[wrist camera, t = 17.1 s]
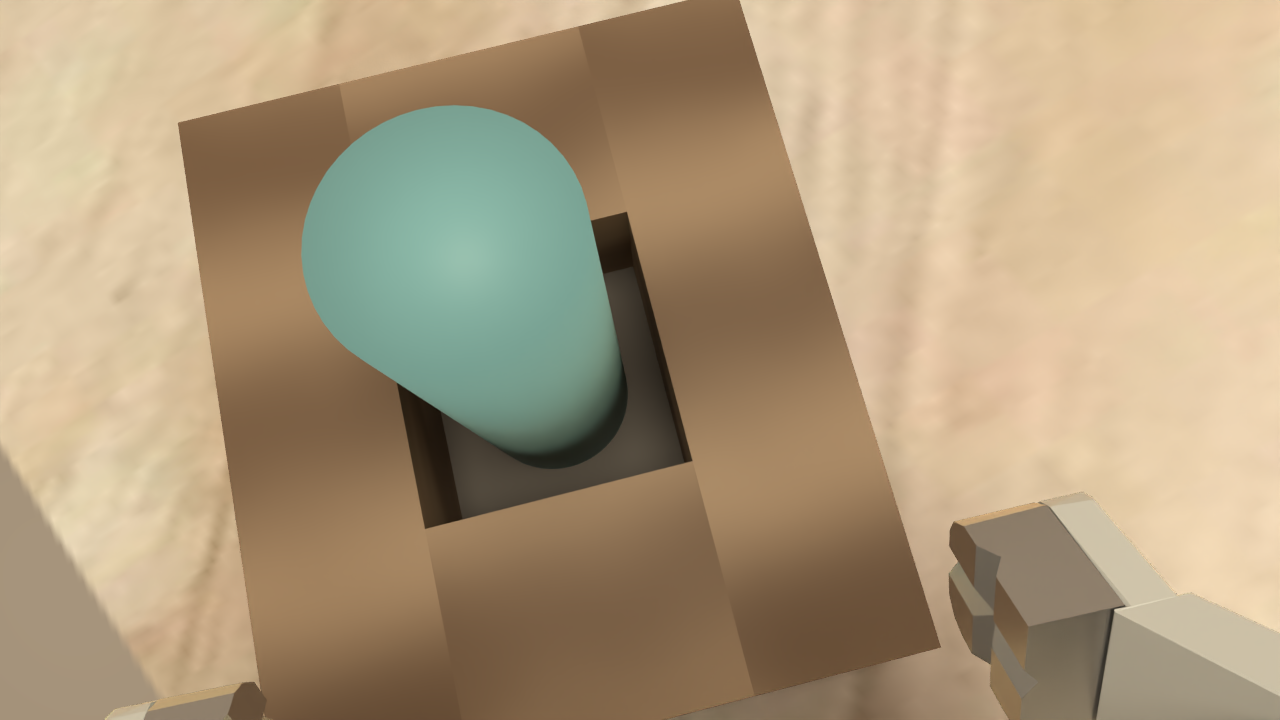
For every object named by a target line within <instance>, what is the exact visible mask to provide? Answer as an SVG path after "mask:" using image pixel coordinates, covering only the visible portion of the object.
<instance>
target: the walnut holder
mask: <svg viewBox="0 0 1280 720" xmlns="http://www.w3.org/2000/svg"><path fill="white" fill-rule="evenodd" d="M450 105H459V106H473V107H479V108H484V109H490V110H493V111H496V112H499V113H503V114H506V115H508V116H510V117H513V118H515V119H517V120H519V121H521V122H523V123H525V124H527V125H528V126H530V127H531V128H533V129H534V130H536V131H538V132H539V133H540V134H541V135H543V136H544V137H545V138H546V139H547V140H548V141H550V142H551V143H552V144H553V145H554V146H555V147H556V148H557V150H558V151H559V152H560V153H561V154H562V155H563V156H564V158H565V159H566V161H567V162H568V164H569V165H570V166H571V168H572V169H573V171H574V173H575V175H576V177H577V179H578V181H579V183H580V185H581V187H582V190H583V193H584V196H585V199H586V202H587V207H588V211H589V215H590V220H591V224H592V229H593V233H594V238H595V242H596V247H597V251H598V255H599V260H600V264H601V269H602V273H603V278H604V282H605V286H606V291H607V295H608V300H609V304H610V309H611V313H612V318H613V322H614V326H615V331H616V335H617V340H618V344H619V349H620V353H621V358H622V362H623V366H624V371H625V375H626V380H627V387H628V400H627V408H626V412H625V416H624V419H623V421H622V424H621V426H620V428H619V430H618V432H617V433H616V435H615V436H614V438H613V439H612V440H611V441H610V443H609V444H608V445H607V446H606V447H605V448H604V449H603V450H601V451H600V452H599V453H598V454H597V455H595V456H593V457H592V458H590V459H589V460H587V461H585V462H583V463H580V464H578V465H574V466H571V467H567V468H561V469H543V468H537V467H532V466H529V465H527V464H524V463H521V462H519V461H518V460H516V459H514V458H512V457H511V456H509V455H508V454H506V453H505V452H503V451H501V450H500V449H498V448H497V447H495V446H494V445H492V444H491V443H489V442H488V441H486V440H485V439H483V438H481V437H480V436H478V435H477V434H475V433H474V432H472V431H471V430H469V429H468V428H466V427H465V426H463V425H461V424H460V423H458V422H457V421H455V420H454V419H452V418H451V417H449V416H448V415H446V414H445V413H443V412H441V411H440V410H438V409H437V408H435V407H434V406H432V405H431V404H429V403H428V402H426V401H425V400H423V399H422V398H420V397H418V396H417V395H415V394H414V393H412V392H411V391H409V390H408V389H406V388H405V387H403V386H402V385H400V384H398V383H397V382H395V381H394V380H392V379H391V378H389V377H388V376H386V375H385V374H383V373H382V372H380V371H378V370H377V369H375V368H374V367H372V366H371V365H369V364H368V363H366V362H365V361H363V360H362V359H360V358H359V357H357V356H356V355H355V354H353V353H352V352H350V351H349V350H348V349H347V348H346V347H344V346H343V345H342V344H341V343H340V342H339V341H338V340H337V339H336V338H335V337H334V336H333V334H332V333H331V332H330V331H329V329H328V328H327V327H326V326H325V324H324V323H323V322H322V320H321V318H320V316H319V315H318V313H317V311H316V310H315V308H314V306H313V303H312V301H311V298H310V296H309V293H308V291H307V287H306V283H305V279H304V275H303V267H302V258H301V250H302V234H303V228H304V222H305V218H306V215H307V212H308V208H309V205H310V202H311V200H312V198H313V196H314V193H315V191H316V189H317V187H318V185H319V184H320V182H321V180H322V179H323V177H324V175H325V174H326V172H327V171H328V169H329V168H330V167H331V166H332V164H333V163H334V162H335V161H336V159H337V158H338V157H339V156H340V155H341V154H342V153H343V152H344V151H345V150H346V149H347V148H348V147H349V146H350V145H351V144H352V143H353V142H355V141H356V140H357V139H359V138H360V137H361V136H363V135H364V134H365V133H367V132H368V131H370V130H371V129H373V128H375V127H377V126H378V125H380V124H382V123H383V122H386V121H388V120H390V119H392V118H395V117H397V116H399V115H402V114H405V113H409V112H412V111H415V110H419V109H424V108H430V107H435V106H450ZM178 126H179V133H180V140H181V147H182V154H183V161H184V168H185V174H186V181H187V188H188V195H189V202H190V209H191V215H192V222H193V229H194V236H195V243H196V250H197V257H198V263H199V270H200V277H201V284H202V291H203V298H204V304H205V311H206V318H207V325H208V332H209V339H210V345H211V352H212V359H213V366H214V373H215V380H216V387H217V393H218V400H219V407H220V414H221V421H222V428H223V434H224V441H225V448H226V455H227V462H228V469H229V475H230V482H231V489H232V496H233V503H234V510H235V517H236V523H237V530H238V537H239V544H240V551H241V558H242V564H243V571H244V578H245V585H246V592H247V599H248V605H249V612H250V619H251V626H252V633H253V640H254V647H255V653H256V660H257V667H258V674H259V681H260V688H261V692H262V694H263V695H264V696H265V698H266V699H267V702H266V706H265V710H264V715H265V717H268V718H270V719H272V720H665V719H669V718H673V717H677V716H680V715H684V714H688V713H692V712H696V711H700V710H703V709H707V708H711V707H715V706H719V705H722V704H726V703H730V702H734V701H738V700H742V699H745V698H749V697H753V696H757V695H761V694H765V693H768V692H772V691H776V690H780V689H784V688H787V687H791V686H795V685H799V684H803V683H807V682H810V681H814V680H818V679H822V678H826V677H829V676H833V675H837V674H841V673H845V672H849V671H852V670H856V669H860V668H864V667H868V666H872V665H875V664H879V663H883V662H887V661H891V660H894V659H898V658H902V657H906V656H910V655H914V654H917V653H921V652H925V651H929V650H933V649H937V648H940V647H941V646H940V643H939V640H938V636H937V633H936V630H935V627H934V624H933V620H932V617H931V614H930V611H929V608H928V604H927V601H926V598H925V595H924V591H923V588H922V585H921V582H920V579H919V575H918V572H917V569H916V566H915V563H914V559H913V556H912V553H911V550H910V547H909V543H908V540H907V537H906V534H905V531H904V527H903V524H902V521H901V518H900V514H899V511H898V508H897V505H896V502H895V498H894V495H893V492H892V489H891V486H890V482H889V479H888V476H887V473H886V470H885V466H884V463H883V460H882V457H881V453H880V450H879V447H878V444H877V441H876V437H875V434H874V431H873V428H872V425H871V421H870V418H869V415H868V412H867V409H866V405H865V402H864V399H863V396H862V393H861V389H860V386H859V383H858V380H857V376H856V373H855V370H854V367H853V364H852V360H851V357H850V354H849V351H848V348H847V344H846V341H845V338H844V335H843V332H842V328H841V325H840V322H839V319H838V316H837V312H836V309H835V306H834V303H833V299H832V296H831V293H830V290H829V287H828V283H827V280H826V277H825V274H824V271H823V267H822V264H821V261H820V258H819V255H818V251H817V248H816V245H815V242H814V238H813V235H812V232H811V229H810V226H809V222H808V219H807V216H806V213H805V210H804V206H803V203H802V200H801V197H800V194H799V190H798V187H797V184H796V181H795V178H794V174H793V171H792V168H791V165H790V161H789V158H788V155H787V152H786V149H785V145H784V142H783V139H782V136H781V133H780V129H779V126H778V123H777V120H776V117H775V113H774V110H773V107H772V104H771V100H770V97H769V94H768V91H767V88H766V84H765V81H764V78H763V75H762V72H761V68H760V65H759V62H758V59H757V56H756V52H755V49H754V46H753V43H752V40H751V36H750V33H749V30H748V27H747V23H746V20H745V17H744V14H743V11H742V7H741V4H740V1H739V0H687V1H682V2H678V3H674V4H670V5H666V6H662V7H657V8H653V9H649V10H645V11H641V12H637V13H633V14H628V15H624V16H620V17H616V18H612V19H608V20H603V21H599V22H595V23H591V24H587V25H583V26H578V27H574V28H570V29H566V30H562V31H558V32H554V33H549V34H545V35H541V36H537V37H533V38H529V39H524V40H520V41H516V42H512V43H508V44H504V45H500V46H495V47H491V48H487V49H483V50H479V51H475V52H470V53H466V54H462V55H458V56H454V57H450V58H445V59H441V60H437V61H433V62H429V63H425V64H421V65H416V66H412V67H408V68H404V69H400V70H396V71H391V72H387V73H383V74H379V75H375V76H371V77H367V78H362V79H358V80H354V81H350V82H346V83H342V84H337V85H333V86H329V87H325V88H321V89H317V90H312V91H308V92H304V93H300V94H296V95H292V96H288V97H283V98H279V99H275V100H271V101H267V102H263V103H258V104H254V105H250V106H246V107H242V108H238V109H234V110H229V111H225V112H221V113H217V114H213V115H209V116H204V117H200V118H196V119H192V120H188V121H184V122H179V123H178Z"/></svg>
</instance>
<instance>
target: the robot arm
mask: <svg viewBox="0 0 1280 720" xmlns="http://www.w3.org/2000/svg"><path fill="white" fill-rule="evenodd" d="M949 546H950V548H951V550H952V552H953V553H954V555H955V557H956V558H957V560H958V563H957V564H956V565H955V567H954V568H953V569H952V570H951V572H950V573H949V594H950V599H951V603H952V607H953V612H954V616H955V619H956V621H957V624H958V626H959V629H960V631H961V634H962V636H963V638H964V640H965V641H966V643H967V645H968V647H969V649H970V651H971V653H972V654H974V655H975V656H977V657H979V658H981V659H982V660H984V661H986V662H987V663H989V664H991V672H990V687H991V689H992V691H993V693H994V694H995V696H996V698H997V700H998V701H999V703H1000V705H1001V707H1002V709H1003V710H1004V712H1005V714H1006V716H1007V717H1008V719H1009V720H1280V633H1279V632H1276V631H1274V630H1272V629H1270V628H1268V627H1266V626H1263V625H1261V624H1259V623H1257V622H1255V621H1252V620H1250V619H1248V618H1246V617H1244V616H1241V615H1239V614H1237V613H1235V612H1233V611H1230V610H1228V609H1226V608H1224V607H1222V606H1219V605H1217V604H1215V603H1213V602H1211V601H1208V600H1206V599H1204V598H1202V597H1200V596H1198V595H1195V594H1193V593H1187V594H1181V595H1177V594H1176V593H1175V592H1174V590H1173V589H1172V588H1171V587H1170V586H1169V585H1168V584H1167V582H1166V581H1165V580H1164V579H1163V578H1162V577H1161V576H1160V574H1159V573H1158V572H1157V571H1156V570H1155V569H1154V567H1153V566H1152V565H1151V564H1150V563H1149V562H1148V561H1147V559H1146V558H1145V557H1144V556H1143V555H1142V554H1141V552H1140V551H1139V550H1138V549H1137V548H1136V547H1135V546H1134V544H1133V543H1132V542H1131V541H1130V540H1129V539H1128V537H1127V536H1126V535H1125V534H1124V533H1123V532H1122V531H1121V529H1120V528H1119V527H1118V526H1117V525H1116V524H1115V523H1114V521H1113V520H1112V519H1111V518H1110V517H1109V516H1108V514H1107V513H1106V512H1105V511H1104V510H1103V509H1102V508H1101V506H1100V505H1099V504H1098V503H1097V502H1096V501H1095V499H1094V498H1093V497H1092V496H1090V495H1088V494H1086V493H1084V492H1079V493H1074V494H1070V495H1066V496H1062V497H1057V498H1053V499H1049V500H1044V501H1040V502H1038V503H1030V504H1026V505H1022V506H1017V507H1013V508H1009V509H1005V510H1000V511H996V512H992V513H988V514H984V515H979V516H975V517H971V518H967V519H962V520H958V521H954V522H953V524H952V527H951V529H950V542H949ZM266 702H267V699H266V698H265V696H264V695H263V694H262V692H261V691H260V690H259V688H258V687H257V685H256V684H255V683H254V682H245V683H238V684H233V685H228V686H223V687H218V688H213V689H208V690H203V691H198V692H193V693H188V694H183V695H178V696H173V697H168V698H163V699H158V700H156V701H152V702H147V703H141V704H136V705H131V706H126V707H122V708H116V709H114V710H113V711H112V712H111V713H110V714H109V715H108V716H107V717H106V718H105V719H104V720H272V719H270V718H268V717H265V716H263V714H264V710H265V706H266Z"/></svg>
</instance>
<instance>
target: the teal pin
mask: <svg viewBox="0 0 1280 720" xmlns="http://www.w3.org/2000/svg"><path fill="white" fill-rule="evenodd" d="M301 258H302V267H303V275H304V279H305V283H306V287H307V291H308V293H309V296H310V298H311V301H312V303H313V306H314V308H315V310H316V311H317V313H318V315H319V316H320V318H321V320H322V322H323V323H324V324H325V326H326V327H327V328H328V329H329V331H330V332H331V333H332V334H333V336H334V337H335V338H336V339H337V340H338V341H339V342H340V343H341V344H342V345H343V346H344V347H346V348H347V349H348V350H349V351H350V352H352V353H353V354H355V355H356V356H357V357H359V358H360V359H362V360H363V361H365V362H366V363H368V364H369V365H371V366H372V367H374V368H375V369H377V370H378V371H380V372H382V373H383V374H385V375H386V376H388V377H389V378H391V379H392V380H394V381H395V382H397V383H398V384H400V385H402V386H403V387H405V388H406V389H408V390H409V391H411V392H412V393H414V394H415V395H417V396H418V397H420V398H422V399H423V400H425V401H426V402H428V403H429V404H431V405H432V406H434V407H435V408H437V409H438V410H440V411H441V412H443V413H445V414H446V415H448V416H449V417H451V418H452V419H454V420H455V421H457V422H458V423H460V424H461V425H463V426H465V427H466V428H468V429H469V430H471V431H472V432H474V433H475V434H477V435H478V436H480V437H481V438H483V439H485V440H486V441H488V442H489V443H491V444H492V445H494V446H495V447H497V448H498V449H500V450H501V451H503V452H505V453H506V454H508V455H509V456H511V457H512V458H514V459H516V460H518V461H519V462H521V463H524V464H527V465H529V466H532V467H537V468H543V469H561V468H567V467H571V466H574V465H578V464H580V463H583V462H585V461H587V460H589V459H590V458H592V457H593V456H595V455H597V454H598V453H599V452H600V451H601V450H603V449H604V448H605V447H606V446H607V445H608V444H609V443H610V441H611V440H612V439H613V438H614V436H615V435H616V433H617V432H618V430H619V428H620V426H621V424H622V421H623V419H624V416H625V412H626V408H627V400H628V387H627V380H626V375H625V371H624V366H623V362H622V358H621V353H620V349H619V344H618V340H617V335H616V331H615V326H614V322H613V318H612V313H611V309H610V304H609V300H608V295H607V291H606V286H605V282H604V278H603V273H602V269H601V264H600V260H599V255H598V251H597V247H596V242H595V238H594V233H593V229H592V224H591V220H590V215H589V211H588V207H587V202H586V199H585V196H584V193H583V190H582V187H581V185H580V183H579V181H578V179H577V177H576V175H575V173H574V171H573V169H572V168H571V166H570V165H569V164H568V162H567V161H566V159H565V158H564V156H563V155H562V154H561V153H560V152H559V151H558V150H557V148H556V147H555V146H554V145H553V144H552V143H551V142H550V141H548V140H547V139H546V138H545V137H544V136H543V135H541V134H540V133H539V132H538V131H536V130H534V129H533V128H531V127H530V126H528V125H527V124H525V123H523V122H521V121H519V120H517V119H515V118H513V117H510V116H508V115H506V114H503V113H499V112H496V111H493V110H490V109H484V108H479V107H473V106H459V105H450V106H435V107H430V108H424V109H419V110H415V111H412V112H409V113H405V114H402V115H399V116H397V117H395V118H392V119H390V120H388V121H386V122H383V123H382V124H380V125H378V126H377V127H375V128H373V129H371V130H370V131H368V132H367V133H365V134H364V135H363V136H361V137H360V138H359V139H357V140H356V141H355V142H353V143H352V144H351V145H350V146H349V147H348V148H347V149H346V150H345V151H344V152H343V153H342V154H341V155H340V156H339V157H338V158H337V159H336V161H335V162H334V163H333V164H332V166H331V167H330V168H329V169H328V171H327V172H326V174H325V175H324V177H323V179H322V180H321V182H320V184H319V185H318V187H317V189H316V191H315V193H314V196H313V198H312V200H311V202H310V205H309V208H308V212H307V215H306V218H305V222H304V228H303V234H302V250H301Z"/></svg>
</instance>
